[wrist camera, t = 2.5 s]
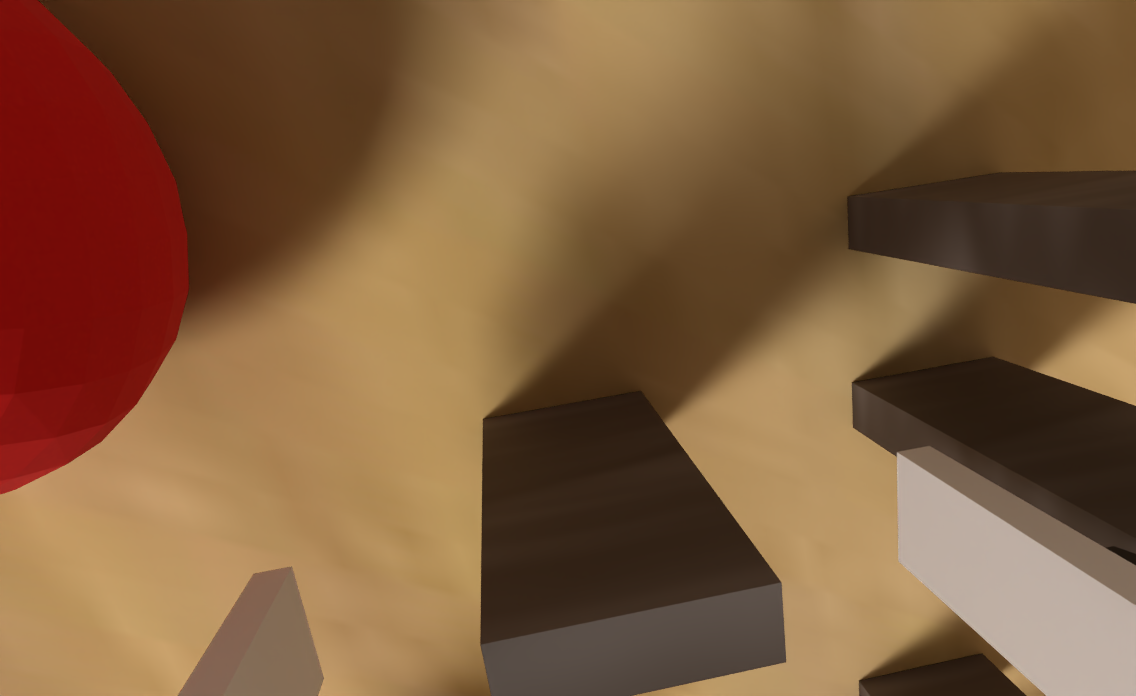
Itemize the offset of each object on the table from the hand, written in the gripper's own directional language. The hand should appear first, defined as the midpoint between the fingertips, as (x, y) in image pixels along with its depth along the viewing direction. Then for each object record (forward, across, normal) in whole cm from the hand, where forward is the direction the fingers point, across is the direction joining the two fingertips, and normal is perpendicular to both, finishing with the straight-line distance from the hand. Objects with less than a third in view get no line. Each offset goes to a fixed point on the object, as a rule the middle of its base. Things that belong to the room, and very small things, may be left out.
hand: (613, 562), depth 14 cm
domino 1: (+7, 0, 0) cm, 7 cm away
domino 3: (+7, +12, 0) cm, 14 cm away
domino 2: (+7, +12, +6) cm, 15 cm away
